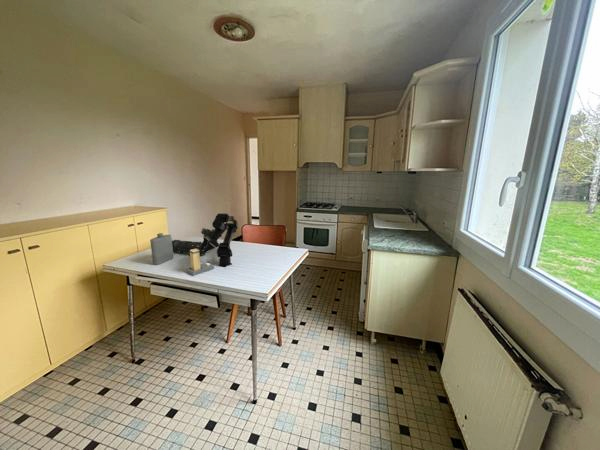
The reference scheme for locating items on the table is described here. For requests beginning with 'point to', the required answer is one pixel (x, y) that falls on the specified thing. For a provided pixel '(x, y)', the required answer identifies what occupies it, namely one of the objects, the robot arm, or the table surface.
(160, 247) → the flask
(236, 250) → the table surface
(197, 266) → the plug
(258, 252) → the table surface
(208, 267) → the bar
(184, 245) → the muzzle brake
